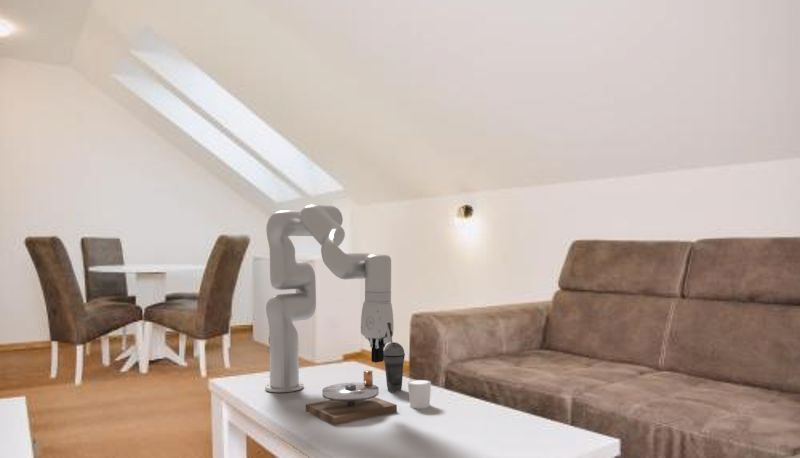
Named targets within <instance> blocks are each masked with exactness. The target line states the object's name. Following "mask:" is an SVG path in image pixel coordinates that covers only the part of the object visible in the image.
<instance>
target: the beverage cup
mask: <svg viewBox="0 0 800 458" xmlns="http://www.w3.org/2000/svg"><path fill="white" fill-rule="evenodd" d="M405 356H406V354H405V349H404V347H403V346H402V345H401V344H400V343H398V342H393V336H392V337H391V343H387V345H385V348H384V360H383V362H384V368H385V379H386V387H387V392H390V393H399V392H401V391H402V389H403V388H402V387H403V374H404V373H403V372H404V361H405Z"/></svg>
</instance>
